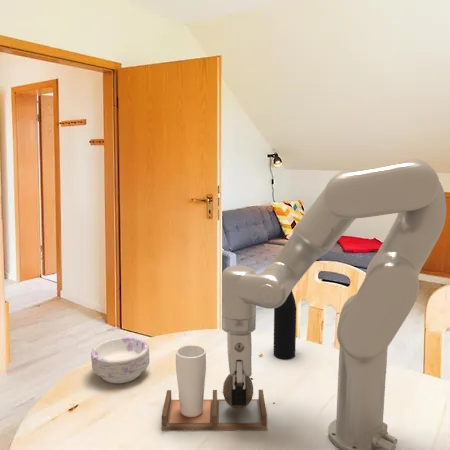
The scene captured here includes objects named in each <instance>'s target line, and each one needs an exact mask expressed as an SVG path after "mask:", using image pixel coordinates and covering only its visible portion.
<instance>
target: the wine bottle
mask: <svg viewBox="0 0 450 450" xmlns="http://www.w3.org/2000/svg"><path fill="white" fill-rule="evenodd" d="M296 333H297V304H296V299H295V295H294V293H293V290H292V291H291V292H290V294H289V296H288V297H287V299H286V301H285V302H284V303H283V304H282V305H281V306H279V307H278V308H273V356H274V357H275V358H277V359H279V360H280V359H281V360H292V359H294V358H295V356H296V342H297V341H296V340H297V339H296V337H297V336H296V335H297V334H296Z"/></svg>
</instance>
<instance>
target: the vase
mask: <svg viewBox="0 0 450 450" xmlns="http://www.w3.org/2000/svg"><path fill="white" fill-rule="evenodd" d="M234 374H237V372H235V371H234ZM242 374H243V372H242ZM236 381H237V377H235V382H236ZM242 381H243V377H242ZM232 387H233V376H231V375H230V373H229V374H228V375H227V377H225V380H224V382H223V386H222V394H223V398H224V399H225V401H226V402H227V404H228V405H230V406H231V407H232V408H236V409H241V408H244V407H246V406H247V405H248V404H249V403H250V402H251V400H252V399H253V397H254V384H253V381H252V379H251V376H250V377H249V376H246V374H245V387H246V405H232Z"/></svg>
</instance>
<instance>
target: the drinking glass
mask: <svg viewBox="0 0 450 450" xmlns="http://www.w3.org/2000/svg"><path fill="white" fill-rule="evenodd" d="M206 354H207V351H206V349H205V348H204V347H203V346H200V345H196V344H188V345H187V344H186V345H183V346H180V347H178V348H177V349H176V351H175V370H176V371H175V372H176V381H177V390H178V400H179V401H180V412H181V414H182V415H183V416H186V417H197V416H199V415H200V414H201V413H202V412H203V400H205V399H204V396H205V395H204V394H205V382H206V373H207V355H206Z"/></svg>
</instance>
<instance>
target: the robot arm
mask: <svg viewBox="0 0 450 450" xmlns="http://www.w3.org/2000/svg"><path fill="white" fill-rule="evenodd" d="M393 214H397V215H396V218H395V220H394V222H393V223H392V225H391V227H390V229H389V231H388V234H387V235H386V237H385V238H384V240H383V242H382V244H381V245H380V247H379V249H378V250H377V252H376V253H375V255H374V256H373V257H372V259H371V260H370V262H369V263H368V265H367V269H366V272H365V275H364V276H365V278H364V279H363V282H362V283H361V285H360V286H359V289H358V290H357V292H356V293H355V294H353V295H351V296H350V297H349V298H348V299H347V300H346V301H345V302H344V304H343V306H342V308H341V310H340V314H339V319H338V324H337V327H336V336H337V337H336V339H337V342H338V344H339V351H338V353H339V354H338V372H337V394H336V396H337V397H336V419H334V420H333V421H332V422H330V424H329V426H328V437H329V439H330V441H331V442H332V443H333V444H334V445H335V446H336V447H337V448H339V449H340V450H397V446H396V445H397V444H398V438H397V437H395V436H393V435H390V433H389V432H388V424H387V423H385V422H384V415H385V414H384V413H385V411H384V410H385V396H386V395H385V394H386V392H385V391H386V378H387V368H388V367H387V366H388V364H387V363H388V349H389V346H390V344H391V343H392V341H393V340H394V339H395V337H396V335H397V333H398V332H399V331H400V329H401V327H402V326H403V324H404V322H405V321H406V320H407V318H408V316H409V314H410V313H411V312H412V310H413V307H414V306H415V304H416V302H417V299H418V297H419V292H420V279H419V276H420V272H421V270H422V269H423V266H424V265H425V263H426V261H427V260H428V258H429V256H430V255H431V252H432V251H433V249H434V247H435V245H436V243H437V242H438V240H439V238H440V236H441V234H442V231H443V229H444V226H445V222H446V218H447V200H446V194H445V190H444V188H443V185H442V183H441V180H440V179H439V175H438V174H437V172H436V170H435V169H434V168H433V166H431V165H429V163H427V162H426V161H424V160H421V159H418V158H407V159H404V160H401V161H399V162H398V163H397V164H393V165H387V166H382V167H377V168H371V169H365V170H359V171H358V170H357V171H356V170H352V169H346V170H343V171H340V172H338V173H337V174H335V175H334V176H333V177H332V178H331V179H330V180H329V181H328V182H327V184H326V185H325V188H324V189H323V190H322V191H321V193H320V194H319V195H318V197H317V198H316V199H315V201H314V202H313V203H312V204H311V205H310V207H309V208H308V209H307V210H306V212H305V213H304V214H303V215H302V217H301V218H300V219H299V220H298V221H297V223H296V225H295V227H294V228H293V229H292V230H293V231H292V234H291V236H290V237H289V239H287V242H286V243H285V244H284V246H283V247H282V248H281V249H280V251H279V252H278V253H277V255H276V256H275V257H274V258H273V259H272V261H271V262H270V263H269V264H268V266H267V267H266V268H265V269H263V271H262V272H260V273H256V271H255V269H254V268H252V267H250V266H247V265H230V266H228V267H225V268H224V269H223V270H222V273H221V330H222V331H223V332H225V333H226V334H227V336H226V339H227V343H226V346H227V362H228V369H229V370H228V371H229V374H230V375H231V376H233V387H232V405H246V387H245V374H246V376H249V377H250V378H251V376H253V374H252V373H253V372H252V370H253V369H252V355H253V354H252V346H253V345H252V333H253V332H254V331H256V321H257V320H256V315H257V311H256V310H257V309H256V308H257V307H260V308H263V309H273V310H274V308H278V307H279V306H281V305H282V304H283V303H284V302H285V301H286V299H287V297H288V296H289V294H290V292H291V291H292V292H293V289H294V288H295V286H296V285H297V284H299V283H298V282H300V280H301V279H302V278H303V277H304V275H305V274H306V273H307V272H308V271H309V269H310V268H311V267H312V266H313V264H314V263H315V262H317V260H318V259H320V258H321V257H322V256H324V255H326V254H327V253H328V252H330V250H331V249H332V248H333V247H334V246H335V245H336V243H337V242H338V240H339V239H341V237H342V236H343V234H345V232H346V231H347V230H348V229H349V228H350V227H351V225H352V224H353V223H354V221H356V220H357V219H366V218H372V217H379V216H386V215H393ZM234 371H235V372H237V374H234ZM242 372H243V374H242ZM235 377H237V381H236V382H235ZM242 377H243V381H242Z"/></svg>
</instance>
